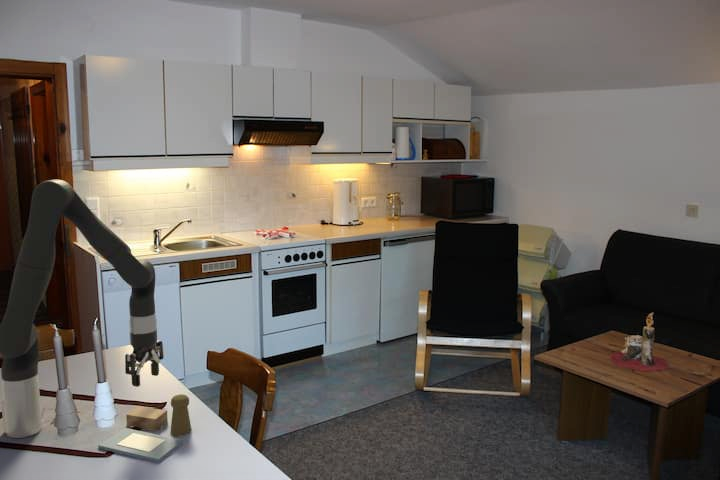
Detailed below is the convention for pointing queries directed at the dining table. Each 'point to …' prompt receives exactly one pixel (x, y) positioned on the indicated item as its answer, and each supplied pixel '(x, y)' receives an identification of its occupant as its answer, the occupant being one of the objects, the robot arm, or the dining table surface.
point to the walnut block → (147, 418)
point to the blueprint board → (141, 444)
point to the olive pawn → (180, 416)
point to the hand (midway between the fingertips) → (145, 380)
